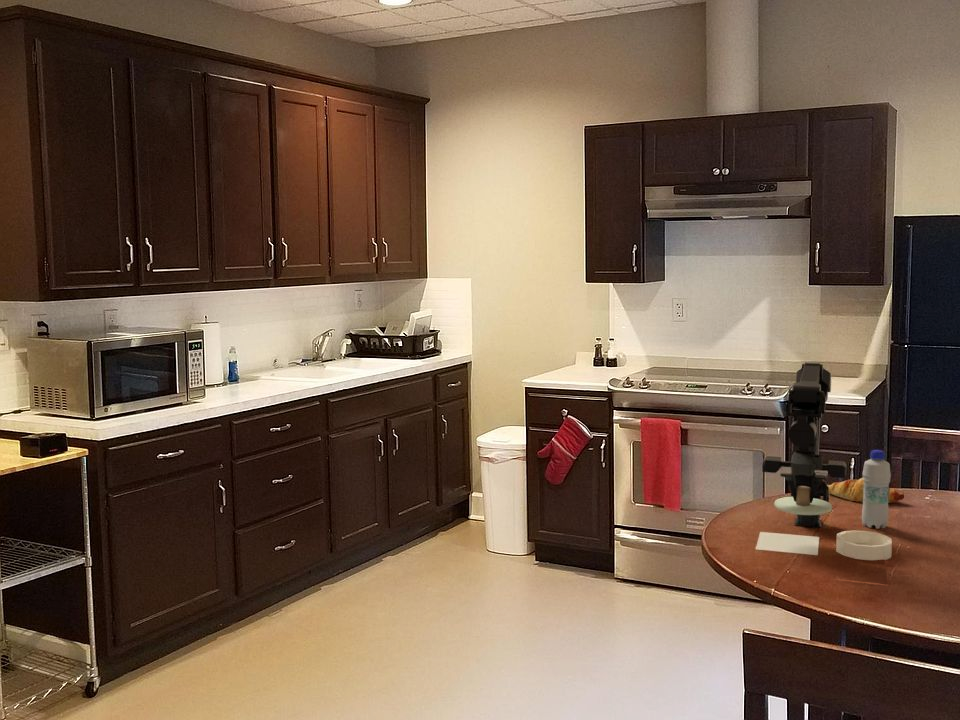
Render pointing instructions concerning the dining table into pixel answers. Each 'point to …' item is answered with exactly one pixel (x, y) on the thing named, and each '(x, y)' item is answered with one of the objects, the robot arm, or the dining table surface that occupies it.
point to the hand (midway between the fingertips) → (803, 501)
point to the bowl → (864, 545)
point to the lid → (803, 503)
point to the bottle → (876, 490)
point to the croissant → (858, 491)
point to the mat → (788, 543)
